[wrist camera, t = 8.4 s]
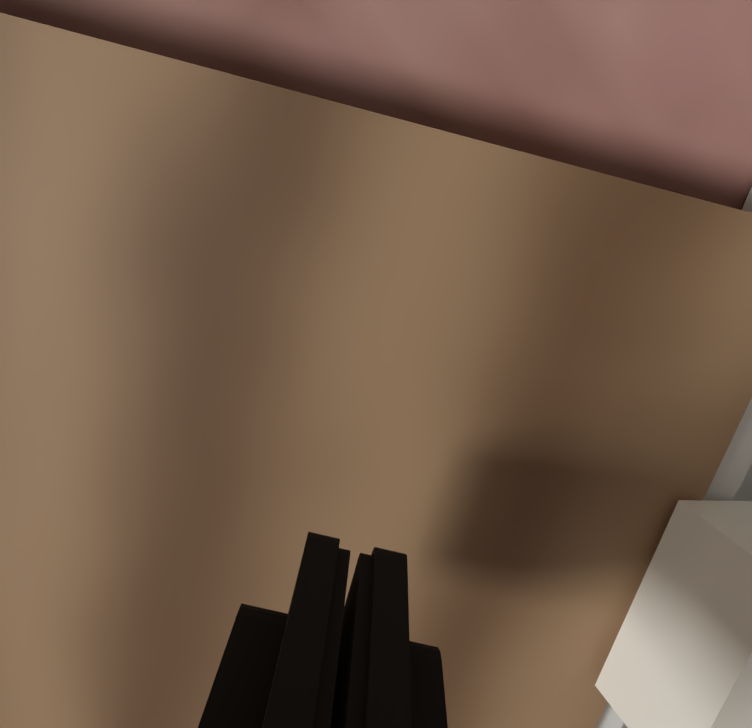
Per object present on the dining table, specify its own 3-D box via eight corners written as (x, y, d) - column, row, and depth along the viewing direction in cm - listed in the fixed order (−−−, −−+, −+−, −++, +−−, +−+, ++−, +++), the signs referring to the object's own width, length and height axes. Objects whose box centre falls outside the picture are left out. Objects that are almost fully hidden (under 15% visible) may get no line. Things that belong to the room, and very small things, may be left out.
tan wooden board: (738, 217, 14) (829, 233, 11) (518, 735, 19) (543, 837, 16) (-179, -27, 13) (-339, -79, 10) (-159, 606, 18) (-261, 693, 15)
